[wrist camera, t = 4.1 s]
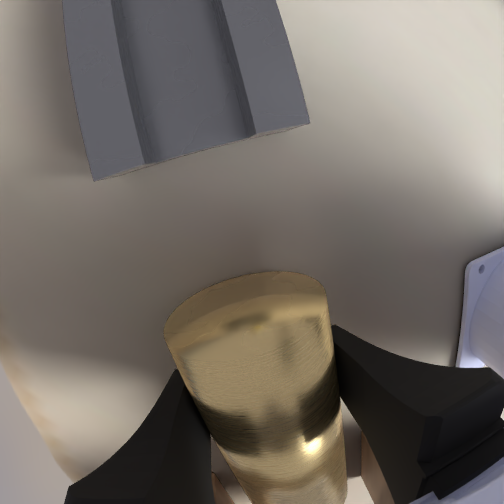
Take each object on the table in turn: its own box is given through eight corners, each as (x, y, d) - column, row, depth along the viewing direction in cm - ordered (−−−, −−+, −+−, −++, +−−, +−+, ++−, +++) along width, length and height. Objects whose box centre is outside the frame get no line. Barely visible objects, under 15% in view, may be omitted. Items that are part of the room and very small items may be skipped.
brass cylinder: (299, 259, 12) (354, 323, 7) (331, 446, 16) (360, 512, 11) (170, 295, 12) (154, 379, 7) (248, 470, 16) (262, 540, 11)
